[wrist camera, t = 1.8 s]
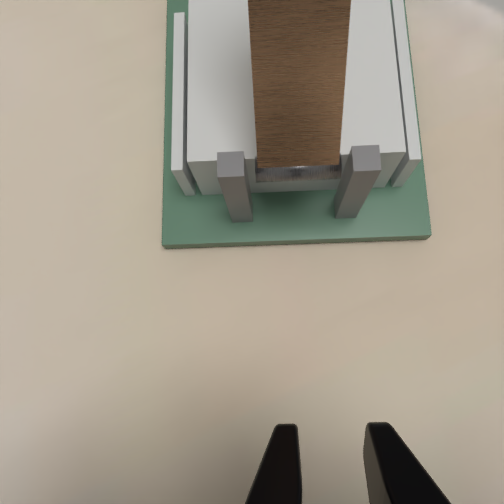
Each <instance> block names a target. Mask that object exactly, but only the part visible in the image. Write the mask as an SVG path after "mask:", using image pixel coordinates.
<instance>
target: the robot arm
mask: <svg viewBox="0 0 504 504" xmlns="http://www.w3.org/2000/svg"><path fill="white" fill-rule="evenodd" d="M363 457H364V466H365V473H366V480H367V488H368V495H369V502H370V504H451V503H450V501H449V500H448V499H447V498H446V496H445V495H444V494H443V492H442V491H441V490H440V488H439V487H438V486H437V484H436V483H435V482H434V481H433V479H432V478H431V477H430V475H429V474H428V473H427V471H426V470H425V469H424V467H423V466H422V465H421V464H420V462H419V461H418V460H417V458H416V457H415V456H414V454H413V453H412V452H411V450H410V449H409V448H408V447H407V445H406V444H405V443H404V441H403V440H402V439H401V437H400V436H399V435H398V433H397V432H396V431H395V430H394V428H393V427H392V426H391V425H390V424H389V423H387V422H370V423H368V424H367V425H366V430H365V439H364V448H363ZM245 504H302V475H301V462H300V450H299V437H298V427H297V425H295V424H277V425H276V426H275V428H274V430H273V433H272V435H271V438H270V440H269V443H268V445H267V448H266V451H265V453H264V456H263V458H262V461H261V463H260V466H259V469H258V471H257V474H256V476H255V479H254V481H253V484H252V487H251V489H250V492H249V494H248V497H247V499H246V502H245Z"/></svg>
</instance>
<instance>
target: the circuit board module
mask: <svg viewBox="0 0 504 504" xmlns="http://www.w3.org/2000/svg"><path fill="white" fill-rule="evenodd" d="M340 154H341V160H342V173H341V178H340V179H330V180H307V181H283V182H260V183H256V176H255V156H257V147H256V130H255V114H254V97H253V81H252V64H251V47H250V31H249V14H248V0H167V40H166V84H165V128H164V173H163V217H162V246H163V247H164V248H166V249H173V248H200V247H228V246H256V245H283V244H311V243H339V242H367V241H394V240H422V239H427V238H429V237H430V236H431V235H432V234H431V225H430V216H429V208H428V199H427V190H426V182H425V173H424V165H423V156H422V147H421V139H420V130H419V121H418V113H417V104H416V95H415V87H414V78H413V69H412V61H411V52H410V43H409V35H408V26H407V17H406V9H405V0H351V9H350V22H349V36H348V49H347V63H346V76H345V90H344V103H343V117H342V130H341V144H340Z"/></svg>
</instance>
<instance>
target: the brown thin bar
mask: <svg viewBox="0 0 504 504" xmlns="http://www.w3.org/2000/svg"><path fill="white" fill-rule="evenodd" d="M350 9H351V0H248V14H249V31H250V47H251V64H252V81H253V97H254V114H255V130H256V147H257V156H255V176H256V183H260V182H283V181H307V180H330V179H340V178H341V173H342V160H341V154H340V144H341V130H342V117H343V103H344V90H345V76H346V63H347V49H348V36H349V22H350Z"/></svg>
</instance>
